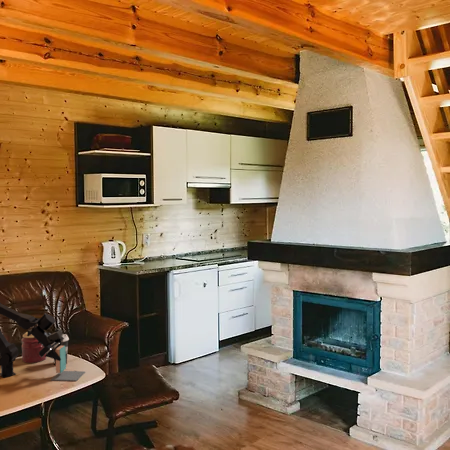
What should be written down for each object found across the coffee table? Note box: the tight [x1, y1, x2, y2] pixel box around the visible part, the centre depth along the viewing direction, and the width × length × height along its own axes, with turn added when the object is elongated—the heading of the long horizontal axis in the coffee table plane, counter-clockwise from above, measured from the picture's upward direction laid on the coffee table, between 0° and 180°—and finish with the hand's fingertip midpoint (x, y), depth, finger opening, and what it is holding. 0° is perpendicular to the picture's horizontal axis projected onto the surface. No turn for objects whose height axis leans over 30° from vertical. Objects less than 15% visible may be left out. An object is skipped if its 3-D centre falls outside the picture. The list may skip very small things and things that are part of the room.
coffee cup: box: [52, 333, 70, 365], centre depth 293 cm, size 10×10×15 cm
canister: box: [21, 331, 47, 364], centre depth 299 cm, size 13×13×18 cm
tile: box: [55, 346, 67, 374], centre depth 273 cm, size 2×6×12 cm, turn 174°
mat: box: [50, 370, 86, 382], centre depth 273 cm, size 13×12×1 cm
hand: (63, 358), depth 272 cm, fingers closed on tile, 6 cm apart
